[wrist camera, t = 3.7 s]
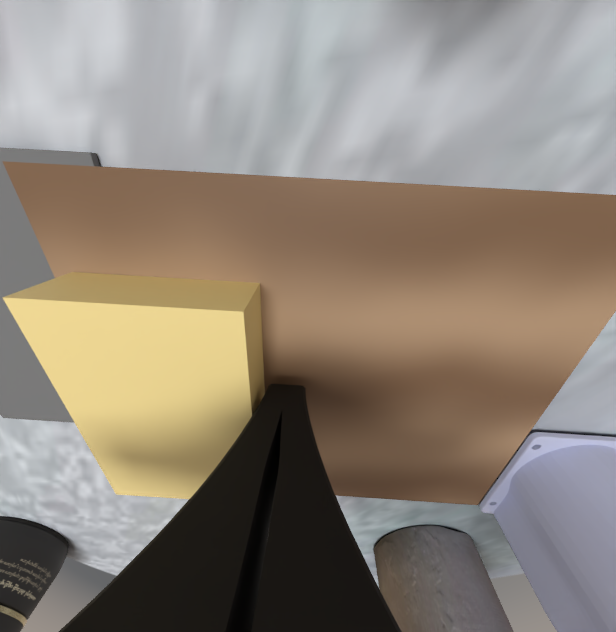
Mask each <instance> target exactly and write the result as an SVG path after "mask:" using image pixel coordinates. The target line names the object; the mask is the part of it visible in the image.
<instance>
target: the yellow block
mask: <svg viewBox="0 0 616 632" xmlns="http://www.w3.org/2000/svg"><path fill="white" fill-rule="evenodd" d="M2 298H3V300H4V301H5V303H6V305H7V306H8V308H9V310H10V312H11V313H12V315H13V317H14V319H15V320H16V322H17V324H18V325H19V327H20V329H21V331H22V332H23V334H24V336H25V338H26V339H27V341H28V343H29V345H30V346H31V348H32V350H33V351H34V353H35V355H36V357H37V358H38V360H39V362H40V364H41V365H42V367H43V369H44V370H45V372H46V374H47V376H48V377H49V379H50V381H51V383H52V384H53V386H54V388H55V389H56V391H57V393H58V395H59V396H60V398H61V400H62V402H63V403H64V405H65V407H66V408H67V410H68V412H69V414H70V415H71V417H72V419H73V421H74V422H75V424H76V426H77V428H78V429H79V431H80V433H81V434H82V436H83V438H84V440H85V441H86V443H87V445H88V447H89V448H90V450H91V452H92V453H93V455H94V457H95V459H96V460H97V462H98V464H99V466H100V467H101V469H102V471H103V472H104V474H105V476H106V478H107V479H108V481H109V483H110V485H111V486H112V488H113V490H114V492H115V493H116V494H118V495H134V496H150V497H165V498H181V499H190V498H191V497H192V496H193V495H194V494H195V492H196V491H197V490H198V489H199V488H200V486H201V485H202V484H203V483H204V482H205V480H206V479H207V478H208V477H209V475H210V474H211V473H212V472H213V470H214V469H215V468H216V467H217V465H218V464H219V463H220V461H221V460H222V459H223V457H224V456H225V455H226V453H227V452H228V451H229V449H230V448H231V446H232V445H233V444H234V442H235V441H236V440H237V438H238V437H239V435H240V434H241V432H242V431H243V429H244V428H245V426H246V425H247V423H248V422H249V420H250V418H251V417H252V415H253V414H254V412H255V410H256V409H257V407H258V405H259V404H260V402H261V400H262V398H263V396H264V394H265V387H264V364H263V342H262V319H261V296H260V283H251V282H234V281H217V280H199V279H182V278H165V277H148V276H131V275H114V274H97V273H80V272H71V273H68V274H65V275H63V276H60V277H57V278H54V279H52V280H49V281H46V282H43V283H41V284H38V285H35V286H32V287H30V288H27V289H24V290H21V291H19V292H16V293H13V294H10V295H8V296H5V297H2Z"/></svg>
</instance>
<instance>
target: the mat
mask: <svg viewBox="0 0 616 632" xmlns="http://www.w3.org/2000/svg"><path fill="white" fill-rule="evenodd" d="M2 161H7V162H25V163H43V164H61V165H79V166H97V167H100V165H99V161H98V158H97V155H96V153H88V152H70V151H51V150H33V149H15V148H0V415H1V416H2V417H3V418H14V419H29V420H44V421H59V422H74V421H73V419H72V417H71V415H70V414H69V412H68V410H67V408H66V407H65V405H64V403H63V402H62V400H61V398H60V396H59V395H58V393H57V391H56V389H55V388H54V386H53V384H52V383H51V381H50V379H49V377H48V376H47V374H46V372H45V370H44V369H43V367H42V365H41V364H40V362H39V360H38V358H37V357H36V355H35V353H34V351H33V350H32V348H31V346H30V345H29V343H28V341H27V339H26V338H25V336H24V334H23V332H22V331H21V329H20V327H19V325H18V324H17V322H16V320H15V319H14V317H13V315H12V313H11V312H10V310H9V308H8V306H7V305H6V303H5V301H4V300H3V298H2V297H5V296H8V295H10V294H13V293H16V292H19V291H21V290H24V289H27V288H30V287H32V286H35V285H38V284H41V283H43V282H46V281H49V280H52V279H54V278H55V277H54V275H53V272H52V270H51V268H50V266H49V264H48V261H47V259H46V257H45V255H44V252H43V250H42V248H41V246H40V244H39V241H38V239H37V237H36V235H35V233H34V230H33V228H32V226H31V224H30V222H29V219H28V217H27V215H26V213H25V210H24V208H23V206H22V204H21V202H20V199H19V197H18V195H17V193H16V191H15V188H14V186H13V184H12V182H11V180H10V177H9V175H8V173H7V171H6V168H5V166H4V164H3V162H2ZM74 423H75V422H74Z"/></svg>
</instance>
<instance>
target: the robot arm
mask: <svg viewBox="0 0 616 632" xmlns="http://www.w3.org/2000/svg"><path fill="white" fill-rule="evenodd" d="M479 507H480V509H481V511H482V512H484V513H492V514H494V516H495V518H496V520H497V522H498V524H499V525H500V527H501V529H502V531H503V533H504V535H505V537H506V539H507V541H508V543H509V544H510V546H511V548H512V550H513V552H514V554H515V556H516V558H517V560H518V561H519V563H520V565H521V567H522V569H523V571H524V573H525V575H526V577H527V579H528V580H529V582H530V584H531V586H532V588H533V589H534V592H535V594H536V596H537V597H538V599H539V601H540V603H541V605H542V607H543V609H544V611H545V613H546V614H547V616H548V618H549V619H550V621H551V623H552V624H553V626H554V627H555V629H556V630H557V632H616V437H607V436H592V435H576V434H561V433H546V432H535V433H532V434H530V435H529V436H528V437H527V439H526V440H525V442H524V443H523V444H522V446H521V447H520V449H519V450H518V451H517V453H516V454H515V456H514V457H513V458H512V460H511V461H510V463H509V464H508V465H507V467H506V468H505V470H504V471H503V472H502V474H501V475H500V477H499V478H498V479H497V481H496V482H495V484H494V485H493V486H492V488H491V489H490V491H489V492H488V493H487V495H486V496H485V497H484V499H483V500H482V502H481V503H480V505H479ZM59 632H402V631H401V629H400V628H399V626H398V624H397V622H396V620H395V618H394V616H393V615H392V613H391V611H390V609H389V607H388V605H387V603H386V601H385V599H384V597H383V595H382V593H381V592H380V590H379V588H378V586H377V584H376V582H375V580H374V578H373V576H372V574H371V572H370V570H369V568H368V566H367V564H366V562H365V559H364V557H363V555H362V553H361V551H360V549H359V547H358V545H357V543H356V541H355V539H354V537H353V535H352V533H351V531H350V528H349V526H348V524H347V522H346V519H345V517H344V515H343V512H342V510H341V508H340V506H339V503H338V501H337V498H336V496H335V493H334V491H333V489H332V486H331V483H330V481H329V478H328V476H327V473H326V470H325V467H324V464H323V462H322V459H321V456H320V453H319V450H318V447H317V443H316V440H315V436H314V433H313V429H312V426H311V422H310V417H309V413H308V408H307V401H306V388H305V387H304V386H301V385H286V384H270V385H269V386H268V388H267V390H266V392H265V394H264V396H263V398H262V400H261V402H260V404H259V405H258V407H257V409H256V410H255V412H254V414H253V415H252V417H251V418H250V420H249V422H248V423H247V425H246V426H245V428H244V429H243V431H242V432H241V434H240V435H239V437H238V438H237V440H236V441H235V442H234V444H233V445H232V446H231V448H230V449H229V451H228V452H227V453H226V455H225V456H224V457H223V459H222V460H221V461H220V463H219V464H218V465H217V467H216V468H215V469H214V470H213V472H212V473H211V474H210V475H209V477H208V478H207V479H206V480H205V482H204V483H203V484H202V485H201V486H200V488H199V489H198V490H197V491H196V492H195V494H194V495H193V496H192V497H191V498H190V499H189V500H188V502H187V503H186V504H185V505H184V506H183V507H182V508H181V509H180V511H179V512H178V513H177V514H176V515H175V516H174V517H173V518H172V520H171V521H170V522H169V523H168V524H167V525H166V526H165V527H164V528H163V529H162V530H161V532H160V533H159V534H158V535H157V536H156V537H155V538H154V539H153V540H152V541H151V542H150V543H149V544H148V545H147V546H146V547H145V548H144V549H143V550H142V551H141V552H140V553H139V554H138V555H137V556H136V557H135V558H134V559H133V560H132V561H131V562H130V563H129V564H128V565H127V566H126V567H125V568H124V569H123V570H122V571H121V572H120V574H119V575H118V576H117V577H116V578H115V579H114V580H113V581H112V582H111V583H110V584H109V585H108V586H107V587H106V588H104V590H102V591H101V592H100V593H99V594H98V595H97V596H96V597H95V599H93V600H92V601H91V602H90V603H89V604H88V605H87V606H86V607H85V608H84V609H82V610H81V611H80V612H79V613H78V614H77V615H76V616H75V617H74V618H73V619H72V620H71V621H70V622H69V623H68V624H66V625H65V627H63V628H62V629H61V630H60V631H59Z"/></svg>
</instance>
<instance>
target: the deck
mask: <svg viewBox="0 0 616 632" xmlns="http://www.w3.org/2000/svg"><path fill="white" fill-rule="evenodd" d="M2 162H3V164H4V166H5V168H6V171H7V173H8V175H9V177H10V180H11V182H12V184H13V186H14V188H15V191H16V193H17V195H18V197H19V199H20V202H21V204H22V206H23V208H24V210H25V213H26V215H27V217H28V219H29V222H30V224H31V226H32V228H33V230H34V233H35V235H36V237H37V239H38V241H39V244H40V246H41V248H42V250H43V252H44V255H45V257H46V259H47V261H48V264H49V266H50V268H51V270H52V272H53V275H54V277H55V278H57V277H60V276H63V275H65V274H68V273H71V272H80V273H97V274H114V275H131V276H148V277H165V278H182V279H199V280H217V281H234V282H251V283H260V296H261V319H262V342H263V364H264V387H265V392H266V390H267V388H268V386H269V385H270V384H286V385H301V386H304V387H305V388H306V401H307V408H308V413H309V417H310V422H311V426H312V429H313V433H314V436H315V440H316V443H317V447H318V450H319V453H320V456H321V459H322V462H323V464H324V467H325V470H326V473H327V476H328V478H329V481H330V483H331V486H332V489H333V491H334V493H335V495H338V496H353V497H367V498H382V499H397V500H411V501H426V502H441V503H455V504H470V505H478V504H479V503H480V501H481V500H482V498H483V497H484V496H485V494H486V493H487V491H488V490H489V489H490V487H491V486H492V484H493V483H494V481H495V480H496V479H497V477H498V476H499V474H500V473H501V472H502V470H503V469H504V467H505V466H506V465H507V463H508V462H509V460H510V459H511V458H512V456H513V455H514V453H515V452H516V451H517V449H518V448H519V446H520V445H521V443H522V442H523V441H524V439H525V438H526V436H527V435H528V434H529V432H530V431H531V429H532V428H533V427H534V425H535V424H536V422H537V421H538V420H539V418H540V417H541V415H542V414H543V413H544V411H545V410H546V408H547V407H548V405H549V404H550V403H551V401H552V400H553V398H554V397H555V396H556V394H557V393H558V391H559V390H560V389H561V387H562V386H563V384H564V383H565V382H566V380H567V379H568V377H569V376H570V374H571V373H572V372H573V370H574V369H575V367H576V366H577V365H578V363H579V362H580V360H581V359H582V358H583V356H584V355H585V353H586V352H587V351H588V349H589V348H590V346H591V345H592V344H593V342H594V341H595V339H596V338H597V336H598V335H599V334H600V332H601V331H602V329H603V328H604V327H605V325H606V324H607V322H608V321H609V320H610V318H611V317H612V315H613V314H614V313H615V311H616V195H604V194H586V193H568V192H550V191H531V190H513V189H495V188H477V187H459V186H441V185H423V184H405V183H387V182H369V181H350V180H332V179H314V178H296V177H278V176H260V175H242V174H224V173H206V172H188V171H170V170H151V169H133V168H115V167H97V166H79V165H61V164H43V163H25V162H7V161H2Z"/></svg>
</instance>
